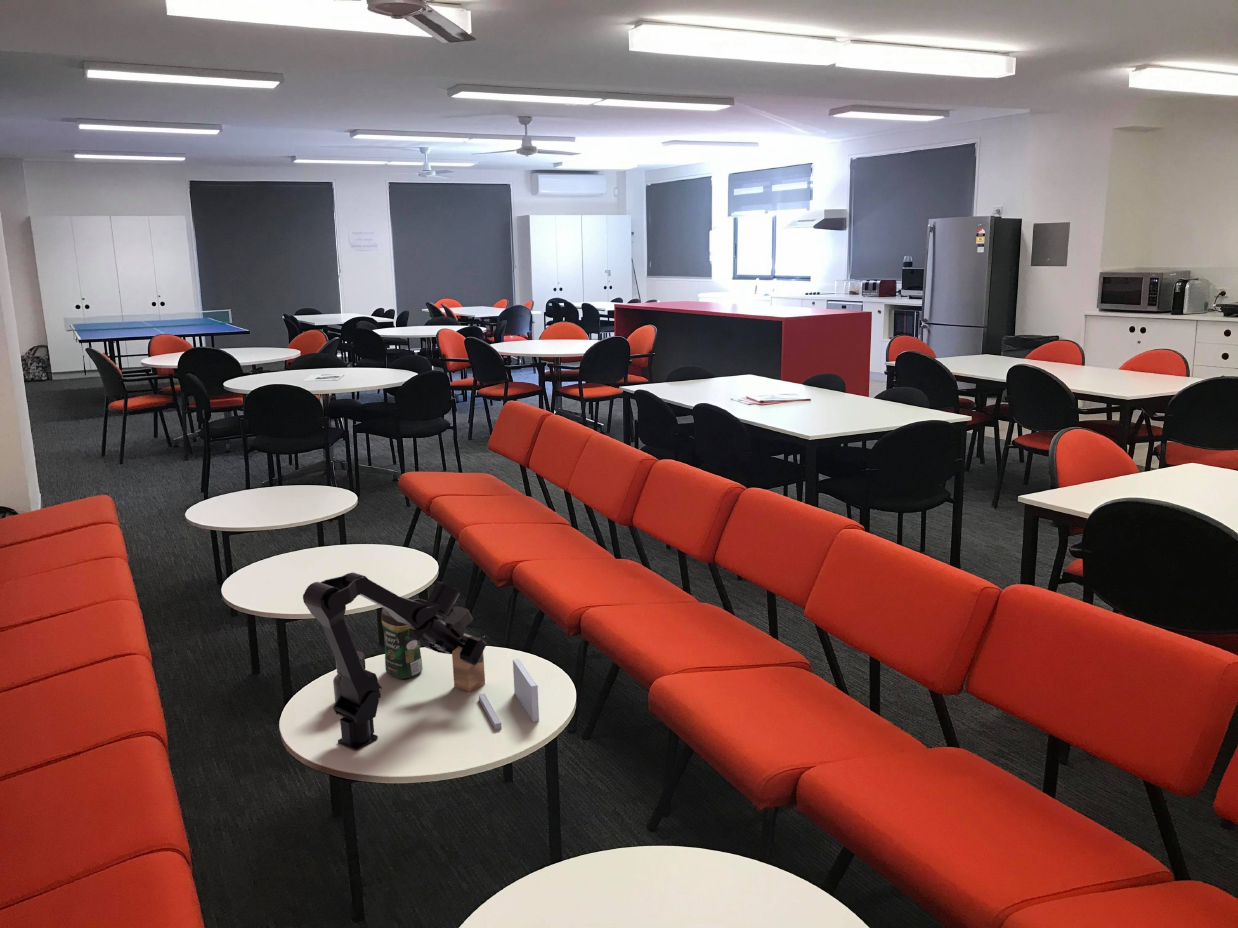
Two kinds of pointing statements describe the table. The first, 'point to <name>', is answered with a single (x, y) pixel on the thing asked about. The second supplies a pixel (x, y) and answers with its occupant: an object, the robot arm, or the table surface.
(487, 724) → the table surface
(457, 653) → the tan upright block
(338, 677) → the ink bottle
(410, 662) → the coffee jar
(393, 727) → the table surface
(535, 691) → the wall dock
